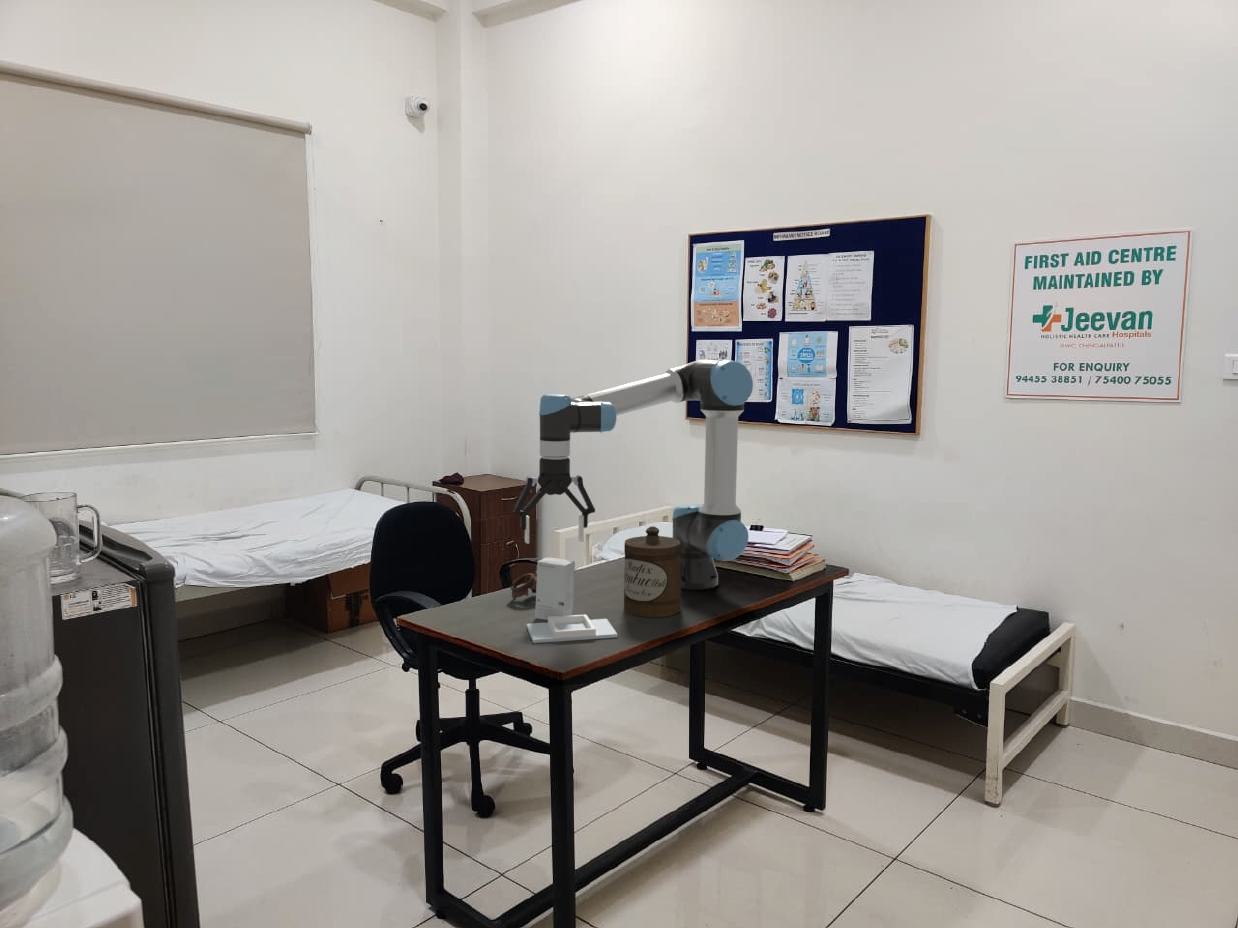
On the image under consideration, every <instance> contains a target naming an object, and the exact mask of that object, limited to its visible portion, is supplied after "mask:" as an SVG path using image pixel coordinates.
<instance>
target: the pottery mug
mask: <svg viewBox="0 0 1238 928" xmlns="http://www.w3.org/2000/svg"><path fill="white" fill-rule="evenodd" d="M525 581H526V583H524V584H523V585H520V584H522V583H523V582H525ZM519 585H520V586H519ZM536 585H537V572H535V573H531V572H529V573H525V574H522V575H521V576H519V577H517V579H516V578H515V580H514V581H513V582H512V585H511V586H510V587H509V588H510V590H511V598H512V599H513V600H516V599H517V598H520V597H523V596H527V597H529V596H530V595H529V590H531V593H532V594H536Z"/></svg>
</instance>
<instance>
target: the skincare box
mask: <svg viewBox="0 0 1238 928" xmlns="http://www.w3.org/2000/svg"><path fill="white" fill-rule="evenodd" d="M575 569H576V561H575V560H568V559H563V558H557V557H544V558H542V559H539V560H537V565H536V574H537V585H536V593H535V608H534V609H535V610H534V611H535V613H534V616H535V619H538V620H543V621H544V620H545V621H548V617H553V616H569V615H574V614H573V613H574V591H575V588H574V587H575Z"/></svg>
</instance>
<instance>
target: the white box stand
mask: <svg viewBox="0 0 1238 928" xmlns="http://www.w3.org/2000/svg"><path fill="white" fill-rule="evenodd" d="M526 629H527V631H528V634H529V636H530V638H531V641H532V643H533V644H541V643H554V642H555V643H556V642H557V643H558V642H570V641H584V640H594V639H595V640H597V639H612V638H618V633H617V631H616V629H615V628H614V627H613V625H612V624H611V623H610V621H609V620H608V618H596V619H595V618H594V619H590V618H589V616H588V615H587V614H573V615H569V616H553V617H548V620H547V622H537V623H536V622H534V623H526Z"/></svg>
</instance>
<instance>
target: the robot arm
mask: <svg viewBox="0 0 1238 928" xmlns="http://www.w3.org/2000/svg"><path fill="white" fill-rule="evenodd" d="M753 388H754V381H753V377H752V374H751V373H750V370H749V369H748V368H747V367H746V366H745V364H743V363H742V362H738V361H735V360H732V359H727V358H726V359H710V358H709V359H708V358H707V359H706V358H705V359H704V358H703V359H698V360H694V361H692V362H689V363H686V364H683V365H680V366H676V367H672V368H669V369H667V370H666V372H665V373H664V374H660V375H656V376H653V377H649V378H646V379H645V378H644V379H641V380H638V381H634V382H630V383H626V384H622V385H618V386H615V387H611V388H607V389H606V388H605V389H603V390H600V391H596V392H595V391H594V392H591V393H588V394H585V395H581V396H576V397H571V396H570V395H569V394H562V393H561V394H559V393H557V394H556V393H555V394H553V393H551V394H549V393H547V394H542V396H541V397H540V401H539V411H538V412H539V413H538V415H539V456H541V457H540V458H539V462H538V463H539V469H538V471H539V475H538V477H531V475H528V476H527V477H526V480H525V485H524V488H523V490H522V492H521V493H520V495H519V497H518V500H517V501H516V504H515V506H514V507H513V509H512V511H513V512H512V513H514V515H515V516H519V517H520V529H521V530H522V531H524V543H525V544H530V516H529V514H530V512H531V511H532V510H533V509H534V507H535V506H536V505H537V504H538V503H539V501H540V500H541V499H542V498H543V497H545V495H546V494H547V495H549V496H552V495H557V496H560V495H563V494H565V495H566V496H567V497H568V498H569V499H570V501H571V502H572V503H573V504H574V505H575V506H576V508H577V509H578V510H579V511H580V512H581V513H579V514H578V541H579V542H580V543H581V542H584V529H587V528H588V522H589V521H588V520H589V514H592V513H595V512H596V509H595V506H594V504H593V502H592V500H591V498H590V497H589V494H588V492H587V489H586V488H585V486H584V479H583V477H582V476H581V475H579V474H578V475H576V476H572V477H571V459H570V458H569V456H571V434H572V433H573V434H574V433H575V434H576V433H602V432H603V433H604V432H611V431H612V430H614V429H615V427H616V424H617V416H620V415H624V414H627V413H631V412H635V411H638V410H639V411H640V410H642V409H643V410H644V409H645V408H649V407H653V406H657V405H660V404H664V403H669V402H671V401H672V402H673V403H675V404H677V403H682V402H686V401H689V402H690V401H697V402H698V401H700V411H701V412H702V413H703V414H704V416H705V444H704V445H705V449H704V450H705V453H704V491H703V492H704V496H703V499H704V501H703V502H704V503H703V504H702V503H701V504H700V503H699V504H697V503H696V504H685V505H684V504H683V505H678V506H675V507H674V509H673V511H672V518H671V519H672V538H675V539H677V540H679V541H680V549H681V550H680V566H681V590H690V591H692V590H693V591H701V590H709V589H713V588H715V587H717V586H718V585H719V574H718V571H717V569H716V564H715V561H714V560H716V561H722V562H730V561H733V560H735V559H737V558H738V557H740V556H741V555H742V553H743V552H744V551H745V550H746V548H747V546H748V543H749V531H748V528H747V527H746V526H745V524H744V523H743V522H742V509H740V507H739V506H738V505H737V472H738V471H737V470H738V469H737V468H738V465H737V463H738V434H739V430H738V429H739V416H740V415H741V414H742V413H743V412H744V411H745V403H746V402H748V400H749V398H750V397H751V396H752V393H753ZM572 483H573V484H574V485H575V486H577V489H578V491H579V492H580V495H581V496H582V499H583V501H584V503H585V506H586V508H585V507H584V506H583V505H582V503H581V502H580V501H579V499H577V497H576V496H575V495H574V494H573V492H571V490H570V489H569V487H570V485H571V484H572ZM536 484H538V485H539V486H540V488H538V490H537V491H536V493H535V494H534V495H533V496H532V498H531V499H530V500H529V501H528V503H527V504H526V505H525V506H524V504H525V502H526V500H527V498H528V496H529V494H530V492H531V490H532V487H535V485H536ZM523 506H524V507H523Z"/></svg>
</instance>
